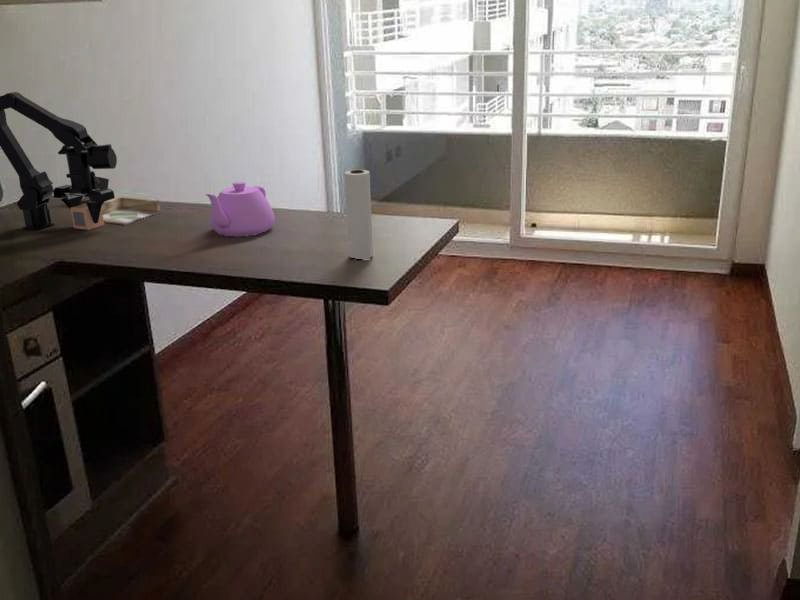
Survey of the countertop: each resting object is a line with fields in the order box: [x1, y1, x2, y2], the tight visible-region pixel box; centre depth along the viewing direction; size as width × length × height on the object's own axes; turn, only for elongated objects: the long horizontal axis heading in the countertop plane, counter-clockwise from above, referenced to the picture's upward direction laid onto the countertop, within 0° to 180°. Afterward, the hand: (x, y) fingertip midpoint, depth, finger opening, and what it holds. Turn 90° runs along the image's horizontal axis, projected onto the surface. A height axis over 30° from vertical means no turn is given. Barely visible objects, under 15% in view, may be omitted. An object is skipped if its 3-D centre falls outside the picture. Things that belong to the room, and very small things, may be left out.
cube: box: [69, 202, 105, 231], centre depth 232 cm, size 6×6×6 cm
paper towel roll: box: [344, 169, 374, 259], centre depth 193 cm, size 7×6×21 cm
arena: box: [102, 196, 161, 226], centre depth 243 cm, size 15×15×4 cm
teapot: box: [205, 181, 276, 237], centre depth 222 cm, size 25×18×14 cm
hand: (88, 222), depth 233 cm, fingers closed on cube, 6 cm apart
